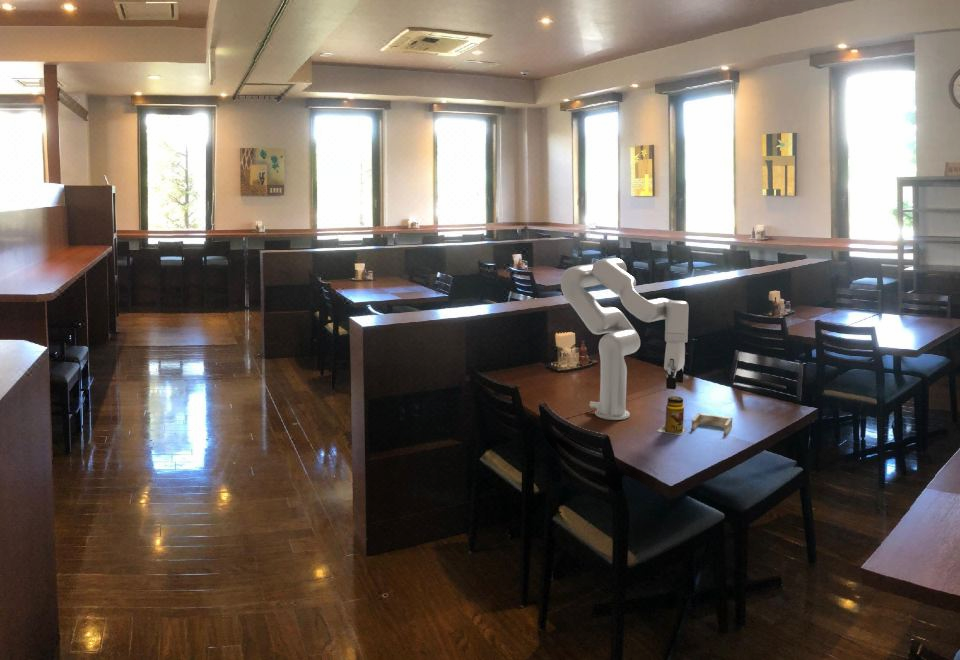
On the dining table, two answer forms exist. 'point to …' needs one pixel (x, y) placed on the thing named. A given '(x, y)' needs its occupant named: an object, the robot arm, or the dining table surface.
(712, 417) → the u rest
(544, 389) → the dining table surface
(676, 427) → the condiment
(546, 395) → the dining table surface
